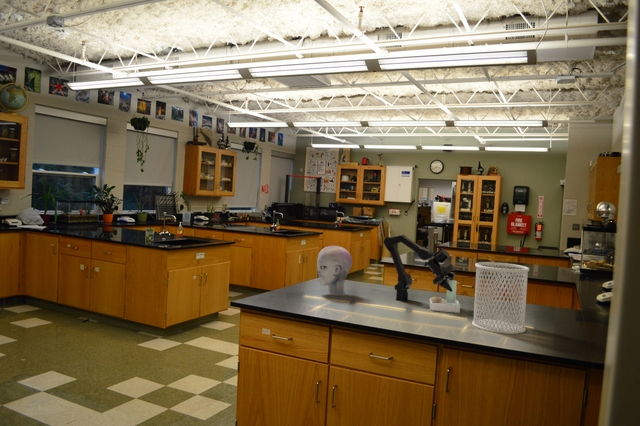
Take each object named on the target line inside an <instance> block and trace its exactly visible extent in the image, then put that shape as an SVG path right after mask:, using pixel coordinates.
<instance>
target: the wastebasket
mask: <svg viewBox="0 0 640 426" xmlns="http://www.w3.org/2000/svg"><path fill="white" fill-rule="evenodd" d="M474 265H475V267H476V269H475V272H476V273H475V286H474V289H475V290H474V303H473V304H474V305H473V307H474V308H473V320H472V322H471V323H472V325H473V326H474V327H475V328H477V329H481V330H483V331H487V332H489V333H490V332H492V333H498V334H506V335H507V334H508V335H512V334H513V335H517V334H522V333H525V332H526V331H527V330H526V327H525V326H526V323H525V322H526V308H527V307H526V306H527V294H528V293H527V291H528V277H529V276H528V275H529V273H528V272H530V267H527V266H525V265H520V264H514V263H506V262H495V261H493V262H491V261H483V262H482V261H480V262H476V263H475V264H474ZM506 290H507V291H506ZM509 299H510V300H509ZM499 303H500V304H499ZM501 307H502V308H501ZM505 308H506V309H505ZM508 317H509V318H508Z"/></svg>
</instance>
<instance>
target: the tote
mask: <svg viewBox="0 0 640 426" xmlns="http://www.w3.org/2000/svg"><path fill="white" fill-rule="evenodd" d="M432 299H433V297H430V298H429V309H430V310H429V311H432V312H433V311H434V312H445V313H453V312H454V313H456V314H460V313H461V312H460V311H461V304H460V302H459V300H458V299H456V302H455V303H449V302H446V298H445V299H443V298H442V304H438V303H432Z"/></svg>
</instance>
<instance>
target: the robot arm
mask: <svg viewBox="0 0 640 426" xmlns="http://www.w3.org/2000/svg"><path fill="white" fill-rule="evenodd" d="M399 243H402V244H403V245H405V246H406V247H407V248H409V249H410V250H412V251H413V252H415V253H416V255H417V256H418V258H420V259H421V260H423V261H424V265H423V266H424V267H429V269H430V270H431V271H432V274H433V275H435V276H436V277H434V278H433V279H432V283H433V284H434V285H435V286H436V285H437V286H440V287H441V288H443V289H445V290H446V291H447V290H449V291H450V292H452V289H451V287H450V285H449V284H448V282H447V280H454V279H455V277H456V276H457V275H456V273H455V271H456V266H455V265H454V264H453V263H450V264H448V266H443V265H442V264H443V263H445V261H447V260H448V259H449V258H450V257H451V255H450V253H449V252H448V251H447V250H445V249H444V248H443V247H441V248H439V250H437V251H436V252H434V251H433V250H431V249H428V248H426V247H424V246H421V245H420V244H418V243H416V242H415V241H414V240H412V239H410V238H409V237H407V235H406V234H400V235H397V236H387V237H385V238H384V240H383V245H384V247H385V248H386V250H387V251H388V252H389V254H390V256H391V259H392V261H393V264H394V267H395V270H396V273H397V283H396V284H395V285H394V290H395V291H396V293H395V294H396V296H395V300H396V301H404V302H407V301H408V300H409V292H408V290H410V287H411V286H412V284H413V278H412V276H411V274H410V273H408V272H406V270H405V266H404V264H403V261H402V258H401V256H400V252H399V249H398V248H399ZM456 291H457V288H456Z"/></svg>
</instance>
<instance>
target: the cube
mask: <svg viewBox="0 0 640 426" xmlns="http://www.w3.org/2000/svg"><path fill="white" fill-rule="evenodd" d="M432 298H433V299H432V303H438V304H442V299H443V297H439V296H432Z"/></svg>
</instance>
